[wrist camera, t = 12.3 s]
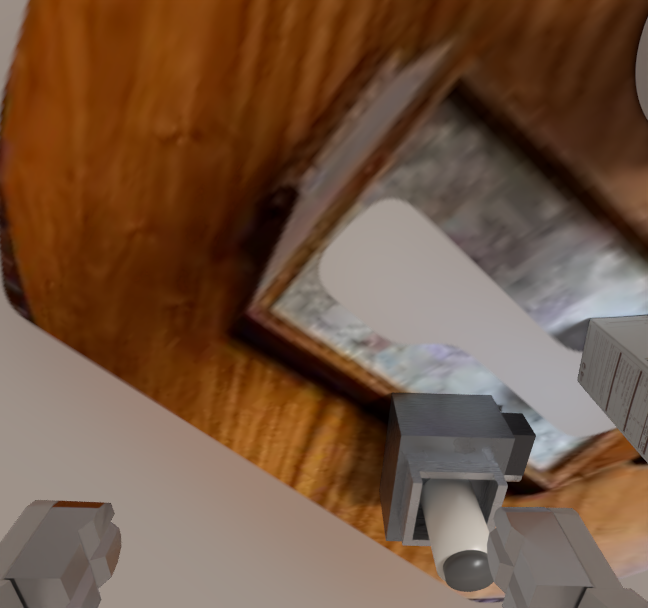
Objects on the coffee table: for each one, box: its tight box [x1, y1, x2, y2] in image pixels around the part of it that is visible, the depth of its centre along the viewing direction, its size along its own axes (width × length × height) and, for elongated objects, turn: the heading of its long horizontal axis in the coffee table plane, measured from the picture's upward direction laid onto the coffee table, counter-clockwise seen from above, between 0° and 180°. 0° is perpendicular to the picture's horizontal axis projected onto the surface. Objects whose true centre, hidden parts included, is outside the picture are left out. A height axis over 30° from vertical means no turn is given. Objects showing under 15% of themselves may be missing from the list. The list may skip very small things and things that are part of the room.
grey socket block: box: [379, 393, 536, 546], centre depth 42 cm, size 13×14×8 cm
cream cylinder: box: [420, 478, 494, 592], centre depth 37 cm, size 5×5×8 cm
